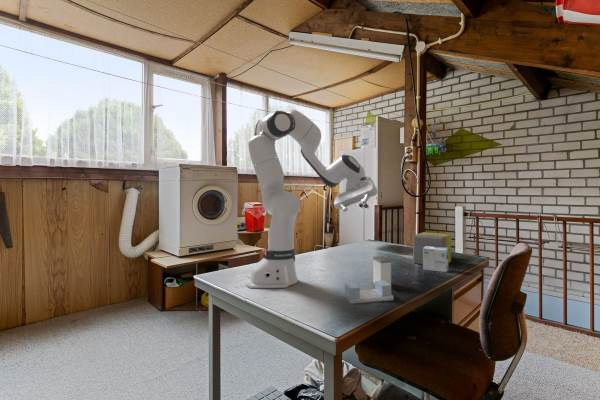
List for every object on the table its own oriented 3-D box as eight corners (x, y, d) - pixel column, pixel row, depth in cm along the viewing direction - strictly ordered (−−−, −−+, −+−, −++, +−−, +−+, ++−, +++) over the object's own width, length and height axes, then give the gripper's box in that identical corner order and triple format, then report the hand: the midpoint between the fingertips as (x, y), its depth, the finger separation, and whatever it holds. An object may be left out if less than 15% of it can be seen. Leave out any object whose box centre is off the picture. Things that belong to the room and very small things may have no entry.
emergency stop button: (455, 259, 172) (456, 232, 171) (442, 268, 154) (442, 238, 153) (428, 255, 182) (428, 230, 181) (412, 263, 163) (412, 235, 163)
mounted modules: (350, 298, 109) (350, 288, 109) (344, 292, 115) (344, 283, 114) (391, 294, 112) (391, 285, 112) (383, 289, 118) (383, 280, 117)
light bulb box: (448, 269, 151) (448, 247, 151) (446, 272, 145) (446, 249, 145) (425, 266, 157) (425, 245, 156) (422, 269, 151) (422, 247, 151)
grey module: (380, 287, 124) (380, 260, 124) (373, 282, 131) (373, 256, 131) (391, 286, 125) (391, 260, 125) (383, 281, 132) (383, 256, 132)
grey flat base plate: (351, 303, 107) (351, 299, 107) (342, 295, 116) (342, 291, 116) (393, 300, 111) (393, 295, 111) (382, 292, 119) (382, 288, 119)
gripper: (332, 191, 148) (330, 210, 137) (372, 174, 138) (372, 192, 127) (339, 200, 150) (337, 219, 140) (378, 184, 141) (379, 203, 130)
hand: (354, 206), depth 133 cm, fingers open, 8 cm apart
